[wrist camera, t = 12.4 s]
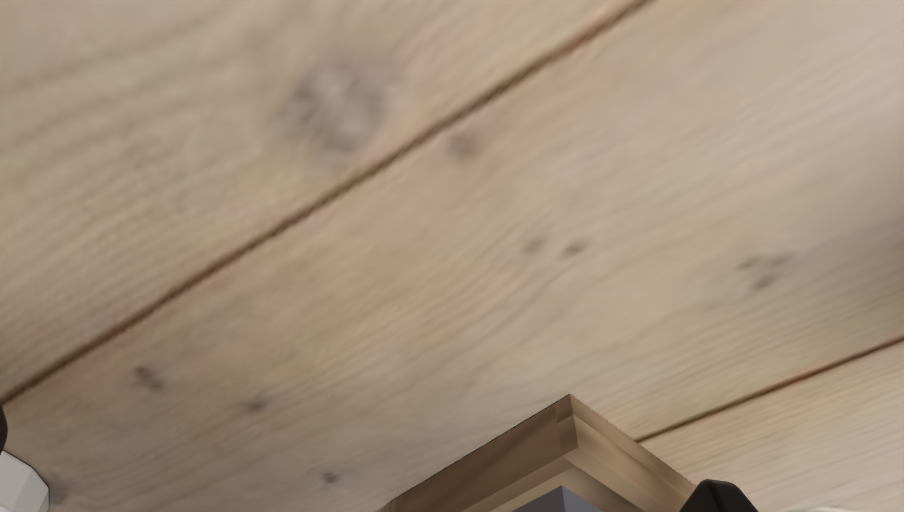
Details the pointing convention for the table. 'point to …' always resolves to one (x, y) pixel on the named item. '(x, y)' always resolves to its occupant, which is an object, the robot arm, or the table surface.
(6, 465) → the white cup
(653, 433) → the table surface
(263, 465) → the table surface
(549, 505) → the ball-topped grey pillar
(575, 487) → the wooden tray
